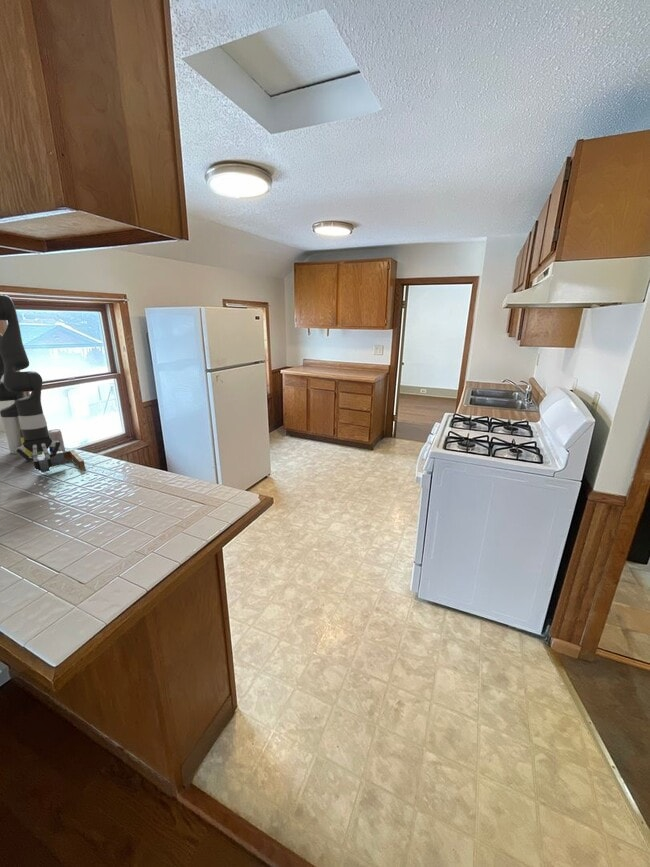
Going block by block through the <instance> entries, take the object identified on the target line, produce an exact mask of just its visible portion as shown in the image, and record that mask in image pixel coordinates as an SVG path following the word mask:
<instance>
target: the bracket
mask: <svg viewBox="0 0 650 867" xmlns="http://www.w3.org/2000/svg"><path fill="white" fill-rule="evenodd" d="M48 453H49V454H50V452H48ZM37 458H38V461H39V465H40V469H41V470H39V471H40V472H41V474H42V473H46V472H47V473H48V472H51V471H50V468H51V467H56V466H63V465H66V461H65V460H64V455H63V452H62V451H57V453H56V456H54V457H52V458H51V464H52V466H51V467H50V468H49V465H48V461H47V458H46V457H45V455H44V453H43V454H41V455H37Z"/></svg>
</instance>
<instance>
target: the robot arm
mask: <svg viewBox="0 0 650 867" xmlns="http://www.w3.org/2000/svg"><path fill="white" fill-rule="evenodd" d="M18 318H19V317H18V313H17V310H16V306H15V304H14V300H12V298H11V296H10V295H7V294H0V321H7V327H6V329H5V331H4V333H3V334H2V333H1V332H0V402H9V401H14V402H13V403H12V404H11V405H9V406H7V407H5V408H2V409H0V418H1V421H2V425H3V429H4V433H5V436H6V441H7V444H8V448H9V452H10V454H12V455H20V456H21V457H22V458H23V459H26V460H27V462H33V465H34V468H35V470H37V471H40V470H41V469H40V465H39V461H38V458H37V453H38V452H40V451H42V452H43V454H44V455H45V457H46V458H47V461H48V465H49V469H51V466H52V464H51V458H52V457H54V456H56V453H57V451H58V448H59V446H60V442H59V441H53V440H51V438H50V437H49V433H48V431H49V429H48V428H49V427H48V422H47V420H46V417H45V414H44V411H43V405H42V398H41V397H42V389H43V378H42V375H41V374H40V373H38V372H36V371H34V370H33V371H32V370H31V371H30V370H28V371H27V370H26V371H22V370H25V369H28V367H29V366H30V361H29V358H28V355H27V353H26V349H25V347H24V344H23V339H22V334H21V327H20V322H19V319H18ZM2 378H3V379H2ZM24 392H31V393H30V394H29V395H27V396H25V395H24ZM20 429H21V431H22V435H23V439H24V442H23V445H22V443H21V438H20ZM51 443H52V445H53V449H52V451H51V453H50V452H49V450H48V449H49V446H50V444H51ZM24 448H27V449H28V450H30V451H31V452H32V457H29V456H28V455H27V454H26V453H25V449H24ZM49 453H50V454H49ZM26 460H25V461H26Z"/></svg>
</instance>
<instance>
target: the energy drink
mask: <svg viewBox="0 0 650 867" xmlns="http://www.w3.org/2000/svg"><path fill="white" fill-rule="evenodd" d="M48 433H49V437H50V438H51V440H53V441H59V442H60V446H59V448H58V451H62V452H64V451H66V447H65V444H64V439H63V434H62V431H61V429H50V430H49V429H48ZM48 449H49V453H51V451H52V449H53V445H52V443H51V444H50V446H49V448H48Z"/></svg>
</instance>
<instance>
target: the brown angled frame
mask: <svg viewBox="0 0 650 867" xmlns="http://www.w3.org/2000/svg"><path fill="white" fill-rule="evenodd" d="M63 455H64V460H65V462H67V461H72V462H73V463H74V464H75V466H76V467H77V466H78V467H77V468H78V469H79V470H80V471H82V472H83V471H86V465H85V461H84V459H83V458H82V456H80V455H79V454H78V453H77V452H76V451H75V450H74V449H71V450H65V451H64V452H63Z"/></svg>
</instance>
